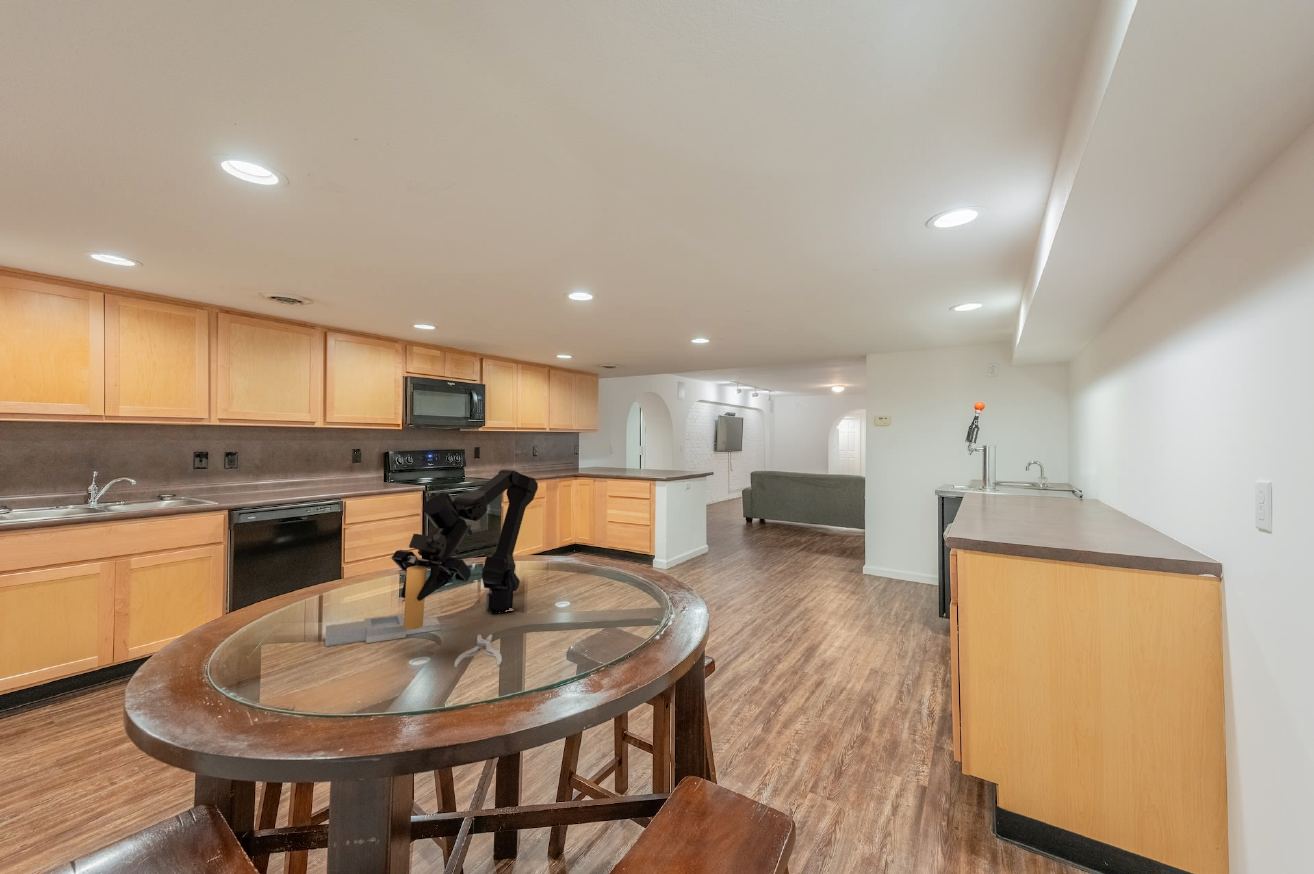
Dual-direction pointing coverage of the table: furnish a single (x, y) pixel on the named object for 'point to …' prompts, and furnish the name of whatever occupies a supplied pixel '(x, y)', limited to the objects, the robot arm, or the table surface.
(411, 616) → the pin
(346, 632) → the grey peg socket block
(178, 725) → the table surface
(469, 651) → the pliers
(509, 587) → the robot arm
